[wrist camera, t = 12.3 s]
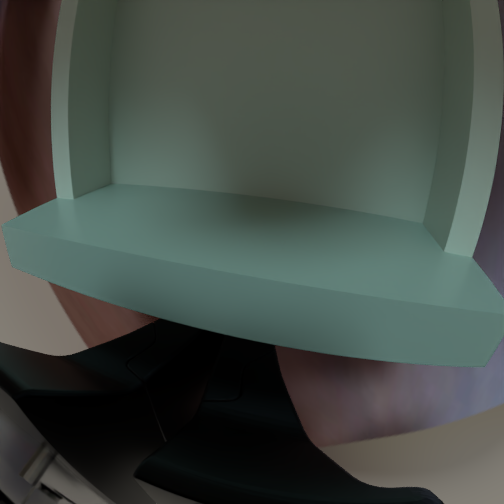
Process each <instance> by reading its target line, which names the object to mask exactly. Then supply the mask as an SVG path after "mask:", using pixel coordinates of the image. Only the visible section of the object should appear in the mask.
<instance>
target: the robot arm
mask: <svg viewBox="0 0 504 504" xmlns="http://www.w3.org/2000/svg"><path fill="white" fill-rule="evenodd" d="M156 503H157V504H444V503H443V502H442V501H441V500H440V499H439V498H438V497H437V496H436V495H435V494H433V493H432V492H431V491H430V490H428V489H425V488H420V487H399V488H384V487H377V486H372V485H369V484H366V483H364V482H361V481H359V480H358V479H356V478H354V477H353V476H352V475H350V474H349V473H348V472H347V471H345V470H344V469H343V468H342V467H340V466H339V465H338V464H337V463H335V462H334V461H333V460H332V459H330V458H329V457H328V456H327V455H326V454H325V453H323V452H322V451H321V450H320V449H319V448H317V447H316V446H315V445H314V444H313V443H312V442H311V440H310V439H309V438H308V436H307V434H306V432H305V431H304V429H303V426H302V424H301V422H300V420H299V417H298V415H297V412H296V410H295V408H294V405H293V403H292V400H291V398H290V396H289V393H288V391H287V388H286V386H285V383H284V380H283V377H282V374H281V370H280V367H279V363H278V358H277V353H276V349H275V345H273V344H268V343H263V342H258V341H253V340H248V339H244V338H239V337H234V336H230V335H226V334H221V333H217V332H213V331H208V330H204V329H200V328H196V327H192V326H188V325H184V324H181V323H177V322H173V321H169V320H166V319H162V318H160V319H158V320H156V321H155V322H154V323H153V322H152V323H150V324H148V325H146V326H144V327H142V328H140V329H137V330H135V331H133V332H131V333H129V334H126V335H124V336H121V337H119V338H116V339H114V340H111V341H108V342H106V343H103V344H100V345H97V346H95V347H92V348H89V349H87V350H84V351H81V352H78V353H75V354H72V355H66V356H52V355H47V354H43V353H39V352H35V351H31V350H27V349H23V348H19V347H15V346H12V345H8V344H5V343H1V342H0V504H156Z"/></svg>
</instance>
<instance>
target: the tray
mask: <svg viewBox="0 0 504 504" xmlns="http://www.w3.org/2000/svg"><path fill="white" fill-rule="evenodd" d="M503 91H504V62H503V42H502V31H501V22H500V14H499V7H498V1H497V0H62V2H61V7H60V13H59V18H58V25H57V31H56V39H55V47H54V57H53V69H52V88H51V134H52V153H53V166H54V177H55V186H56V194H57V198H56V199H54V200H52V201H49V202H47V203H45V204H43V205H41V206H38V207H36V208H34V209H32V210H30V211H28V212H26V213H24V214H22V215H20V216H18V217H16V218H14V219H12V220H10V221H8V222H7V223H4V224H2V231H3V235H4V239H5V243H6V246H7V251H8V254H9V258H10V261H11V264H12V267H14V268H16V269H19V270H21V271H24V272H26V273H28V274H31V275H33V276H36V277H38V278H41V279H43V280H46V281H49V282H51V283H54V284H57V285H59V286H62V287H65V288H67V289H70V290H73V291H76V292H79V293H82V294H84V295H87V296H90V297H93V298H96V299H99V300H102V301H105V302H108V303H112V304H115V305H118V306H121V307H124V308H128V309H131V310H134V311H138V312H141V313H144V314H148V315H151V316H155V317H158V318H162V319H166V320H169V321H173V322H177V323H181V324H184V325H188V326H192V327H196V328H200V329H204V330H208V331H213V332H217V333H221V334H226V335H230V336H234V337H239V338H244V339H248V340H253V341H258V342H263V343H268V344H273V345H279V346H284V347H289V348H295V349H301V350H307V351H313V352H319V353H326V354H332V355H339V356H346V357H354V358H362V359H370V360H379V361H388V362H398V363H409V364H422V365H437V366H457V367H485V366H486V364H487V363H488V361H489V360H490V358H491V356H492V355H493V353H494V352H495V350H496V348H497V347H498V345H499V343H500V342H501V340H502V338H503V336H504V299H503V297H502V296H501V294H500V293H499V292H498V290H497V289H496V287H495V286H494V285H493V283H492V282H491V281H490V279H489V278H488V277H487V276H486V274H485V273H484V272H483V270H482V269H481V268H480V267H479V265H478V264H477V263H476V262H475V260H474V259H473V258H472V257H473V254H474V251H475V248H476V244H477V241H478V238H479V235H480V231H481V228H482V224H483V221H484V217H485V213H486V210H487V206H488V201H489V197H490V193H491V188H492V183H493V178H494V173H495V168H496V162H497V156H498V149H499V142H500V133H501V123H502V111H503Z"/></svg>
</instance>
